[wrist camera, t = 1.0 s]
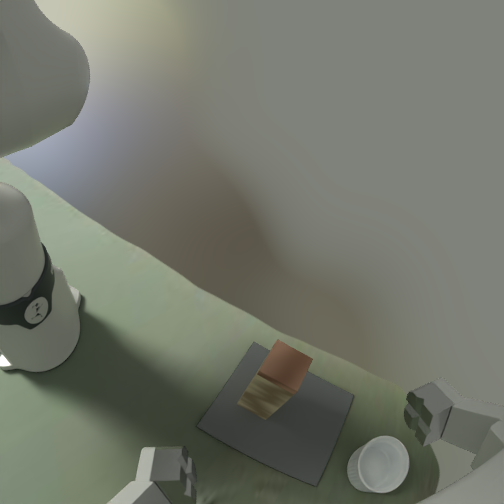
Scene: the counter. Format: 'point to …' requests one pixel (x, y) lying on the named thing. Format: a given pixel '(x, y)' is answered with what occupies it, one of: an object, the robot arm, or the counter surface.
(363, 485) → the ramekin
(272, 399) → the birch block
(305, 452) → the rubber mat
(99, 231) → the counter surface
